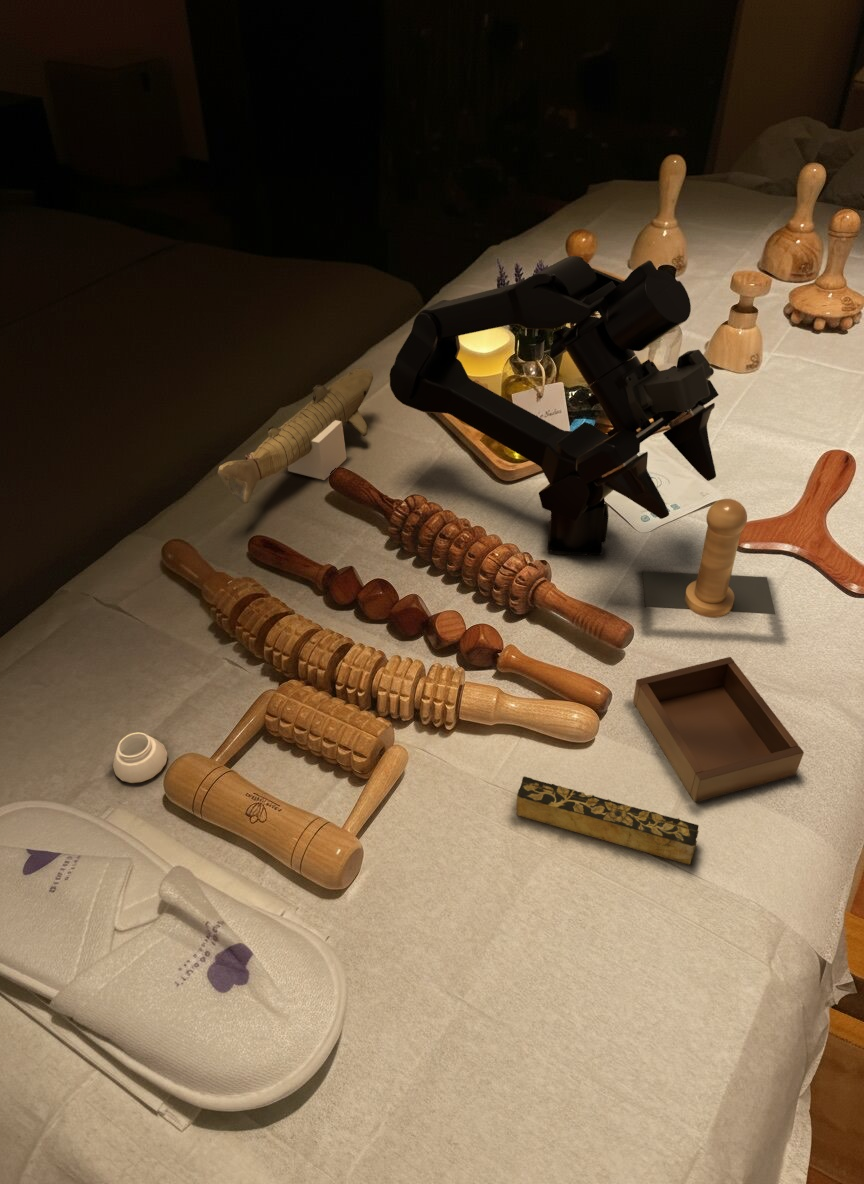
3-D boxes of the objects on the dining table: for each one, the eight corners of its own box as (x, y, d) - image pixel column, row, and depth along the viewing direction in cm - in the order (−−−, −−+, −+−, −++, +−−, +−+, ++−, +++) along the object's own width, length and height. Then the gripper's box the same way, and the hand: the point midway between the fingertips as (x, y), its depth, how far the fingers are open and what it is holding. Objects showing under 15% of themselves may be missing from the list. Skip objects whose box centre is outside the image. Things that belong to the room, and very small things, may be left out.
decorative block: (694, 846, 75) (700, 822, 73) (690, 870, 73) (696, 846, 71) (522, 797, 80) (523, 773, 77) (514, 818, 78) (515, 794, 76)
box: (632, 705, 87) (636, 679, 85) (723, 682, 89) (730, 656, 87) (693, 806, 78) (700, 780, 76) (794, 778, 80) (804, 752, 77)
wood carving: (207, 534, 112) (187, 460, 105) (346, 409, 136) (337, 341, 128) (264, 551, 109) (247, 475, 102) (396, 420, 132) (391, 351, 125)
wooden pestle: (703, 623, 95) (724, 522, 86) (675, 594, 99) (693, 495, 90) (742, 609, 96) (767, 508, 88) (713, 581, 100) (735, 483, 91)
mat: (646, 632, 95) (647, 628, 95) (642, 573, 103) (643, 570, 102) (780, 640, 93) (781, 636, 93) (766, 580, 101) (766, 576, 100)
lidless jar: (147, 735, 87) (105, 767, 84) (140, 716, 85) (96, 748, 82) (178, 760, 84) (135, 794, 82) (171, 741, 83) (127, 774, 80)
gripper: (610, 369, 79) (698, 513, 81) (716, 303, 89) (794, 433, 90) (539, 417, 89) (619, 546, 90) (642, 353, 99) (713, 470, 100)
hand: (689, 497), depth 92 cm, fingers open, 9 cm apart
